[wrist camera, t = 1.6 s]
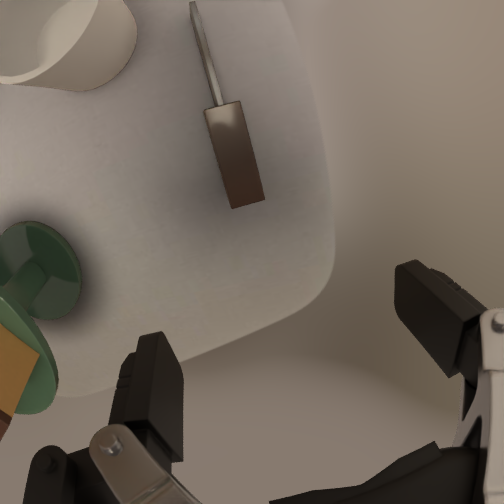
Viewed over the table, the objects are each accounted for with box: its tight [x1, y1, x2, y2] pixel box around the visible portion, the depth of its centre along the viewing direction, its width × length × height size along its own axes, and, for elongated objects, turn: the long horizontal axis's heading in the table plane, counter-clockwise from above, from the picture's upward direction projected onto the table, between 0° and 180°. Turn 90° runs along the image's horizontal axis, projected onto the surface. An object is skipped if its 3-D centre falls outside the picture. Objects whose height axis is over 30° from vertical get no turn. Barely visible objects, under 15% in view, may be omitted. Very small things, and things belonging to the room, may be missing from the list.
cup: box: [0, 0, 137, 91], centre depth 13 cm, size 8×12×10 cm
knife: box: [189, 1, 265, 209], centre depth 20 cm, size 15×2×4 cm, turn 14°
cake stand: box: [0, 221, 82, 414], centre depth 19 cm, size 13×13×12 cm
